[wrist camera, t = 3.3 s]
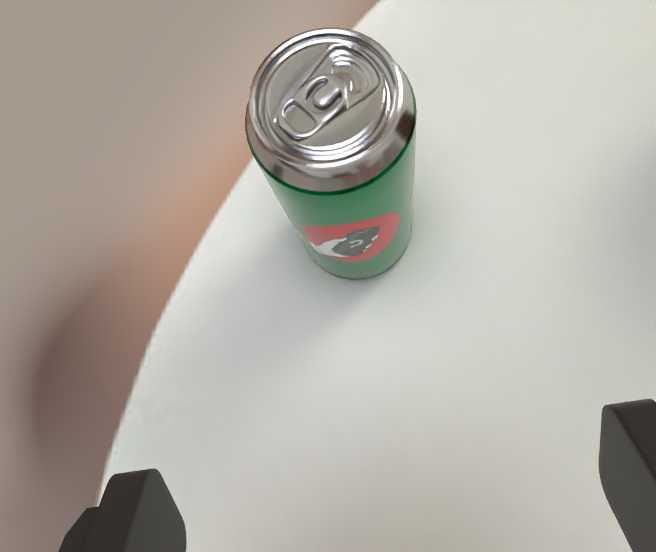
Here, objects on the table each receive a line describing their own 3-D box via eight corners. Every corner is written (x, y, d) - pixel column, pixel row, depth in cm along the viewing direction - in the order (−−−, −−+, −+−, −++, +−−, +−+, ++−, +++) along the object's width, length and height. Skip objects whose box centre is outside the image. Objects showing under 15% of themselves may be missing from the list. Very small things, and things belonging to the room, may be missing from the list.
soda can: (434, 228, 27) (457, 88, 16) (356, 304, 27) (320, 218, 15) (358, 159, 29) (327, -17, 17) (282, 230, 28) (198, 100, 17)
